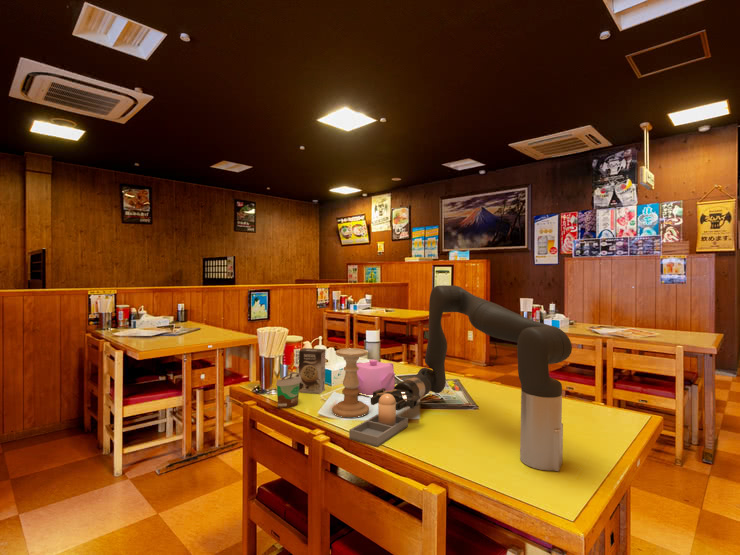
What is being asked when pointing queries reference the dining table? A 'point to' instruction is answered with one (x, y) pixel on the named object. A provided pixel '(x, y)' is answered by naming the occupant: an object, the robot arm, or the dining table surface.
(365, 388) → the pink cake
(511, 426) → the dining table surface
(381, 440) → the divided tray
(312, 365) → the coffee box
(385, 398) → the peach domed shaker
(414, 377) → the robot arm
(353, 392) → the candle holder
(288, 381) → the food container
